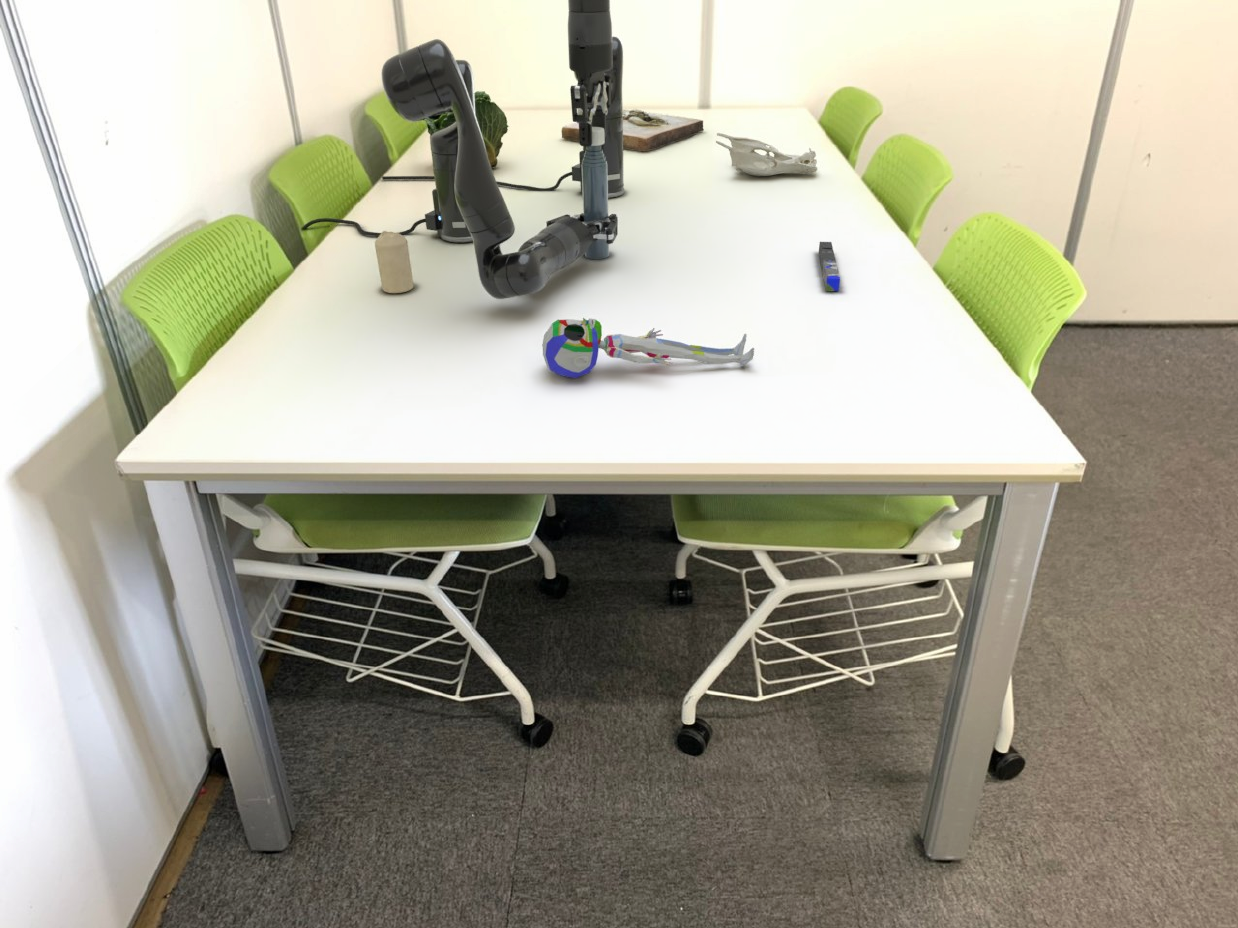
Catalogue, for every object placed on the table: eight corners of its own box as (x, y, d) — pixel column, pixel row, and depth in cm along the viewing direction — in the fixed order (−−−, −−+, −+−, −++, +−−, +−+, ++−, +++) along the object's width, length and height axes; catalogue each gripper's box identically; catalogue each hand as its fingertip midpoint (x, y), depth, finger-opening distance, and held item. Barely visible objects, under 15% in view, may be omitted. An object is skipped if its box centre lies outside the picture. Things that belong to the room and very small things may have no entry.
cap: (608, 142, 163) (608, 128, 161) (598, 146, 160) (598, 132, 158) (589, 140, 164) (588, 126, 163) (578, 144, 161) (578, 130, 160)
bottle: (580, 257, 172) (575, 134, 160) (591, 250, 176) (587, 128, 164) (602, 260, 170) (599, 136, 158) (613, 253, 174) (611, 131, 162)
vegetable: (456, 190, 238) (411, 121, 230) (516, 151, 239) (474, 80, 231) (465, 191, 219) (416, 116, 212) (530, 148, 221) (484, 71, 213)
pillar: (831, 242, 170) (840, 279, 154) (830, 253, 172) (838, 291, 155) (819, 241, 171) (827, 279, 154) (818, 252, 172) (825, 291, 155)
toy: (760, 346, 125) (547, 329, 121) (748, 400, 130) (541, 385, 125) (744, 318, 134) (544, 300, 129) (733, 369, 138) (539, 354, 134)
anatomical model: (717, 129, 225) (818, 128, 221) (717, 166, 230) (815, 166, 226) (714, 143, 213) (820, 142, 209) (713, 182, 217) (817, 182, 214)
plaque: (647, 125, 237) (559, 112, 252) (647, 153, 241) (560, 139, 256) (706, 107, 258) (622, 97, 273) (705, 133, 262) (622, 121, 277)
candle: (419, 284, 161) (411, 229, 156) (403, 295, 157) (395, 239, 151) (392, 280, 162) (384, 226, 157) (376, 291, 158) (367, 236, 153)
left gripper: (596, 228, 154) (636, 202, 167) (523, 219, 159) (568, 193, 172) (597, 270, 158) (636, 241, 171) (526, 259, 163) (570, 232, 176)
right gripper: (585, 34, 160) (588, 132, 168) (553, 45, 148) (558, 149, 157) (624, 35, 157) (625, 134, 166) (595, 46, 146) (598, 152, 155)
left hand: (602, 217), depth 172 cm, fingers closed on bottle, 4 cm apart
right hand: (593, 141), depth 162 cm, fingers open, 6 cm apart
